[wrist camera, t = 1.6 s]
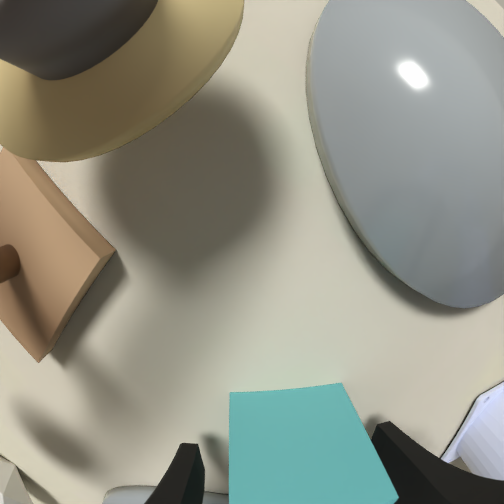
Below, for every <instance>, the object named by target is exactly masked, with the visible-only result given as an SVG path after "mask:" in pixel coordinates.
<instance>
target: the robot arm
mask: <svg viewBox="0 0 504 504" xmlns="http://www.w3.org/2000/svg"><path fill="white" fill-rule="evenodd" d="M371 442H372V444H373V446H374V448H375V450H376V452H377V454H378V456H379V458H380V460H381V462H382V464H383V466H384V468H385V470H386V472H387V474H388V476H389V478H390V480H391V482H392V484H393V486H394V488H395V490H396V492H397V495H398V497H399V498H398V499H397V500H396V502H395V503H394V504H504V382H502V383H501V384H499V385H497V386H496V387H494V388H492V389H490V390H489V391H487V392H485V393H483V394H481V395H480V396H479V397H478V398H477V399H476V401H475V403H474V405H473V407H472V409H471V411H470V413H469V414H468V416H467V418H466V420H465V422H464V423H463V425H462V427H461V428H460V430H459V432H458V433H457V435H456V437H455V438H454V440H453V441H452V443H451V444H450V446H449V448H448V449H447V451H446V452H445V453H444V455H443V456H442V458H441V459H440V458H438V457H437V456H435V455H433V454H432V453H430V452H429V451H427V450H426V449H425V448H423V447H422V446H420V445H419V444H418V443H416V442H415V441H414V440H413V439H411V438H410V437H409V436H407V435H406V434H405V433H404V432H403V431H401V430H400V429H399V428H398V427H396V426H395V425H394V424H393V423H391V422H390V421H388V422H384V423H381V424H377V426H376V429H375V431H374V434H373V436H372V439H371ZM459 457H461V458H462V460H463V461H464V462H465V464H466V465H467V467H468V468H469V469H470V471H471V472H472V473H469V472H466V471H464V470H461V469H459V468H457V467H455V466H453V465H451V464H449V463H450V462H451V461H453V460H455V459H457V458H459ZM204 484H205V469H204V465H203V461H202V458H201V454H200V450H199V446H198V444H191V443H182V444H180V446H179V448H178V451H177V453H176V455H175V457H174V459H173V461H172V463H171V464H170V466H169V468H168V470H167V471H166V473H165V475H164V476H163V478H162V479H161V481H160V483H159V484H158V486H157V487H156V489H155V490H154V491H153V493H152V494H151V495H150V497H149V498H148V499H147V501H146V502H145V503H144V504H202V503H203V496H204Z"/></svg>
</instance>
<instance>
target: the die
mask: <svg viewBox="0 0 504 504" xmlns="http://www.w3.org/2000/svg"><path fill="white" fill-rule="evenodd" d="M0 504H33V502H32V500H31V498H30V496H29V494H28V492H27V490H26V488H25V486H24V484H23V482H22V479H21V477H20V475H19V473H18V470H17V468H16V465H15V464H13V463H11V462H10V461H8V460H6V459H5V458H3V457H1V456H0Z"/></svg>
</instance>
